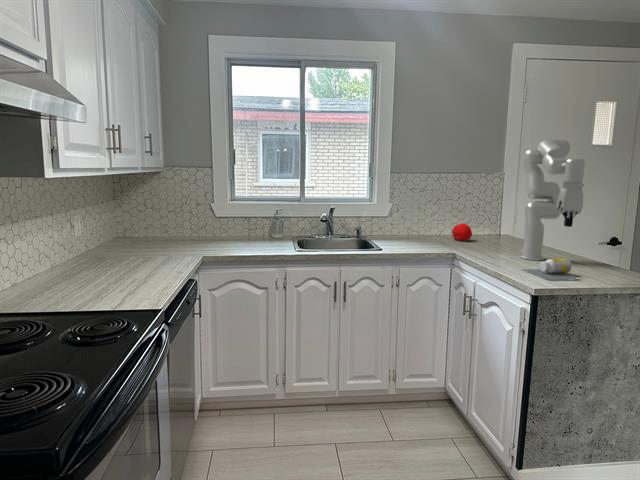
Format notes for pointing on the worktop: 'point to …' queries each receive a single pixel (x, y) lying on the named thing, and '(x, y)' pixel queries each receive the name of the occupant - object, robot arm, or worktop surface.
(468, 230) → the tomato
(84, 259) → the worktop surface
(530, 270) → the mat
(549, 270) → the supplement bottle
